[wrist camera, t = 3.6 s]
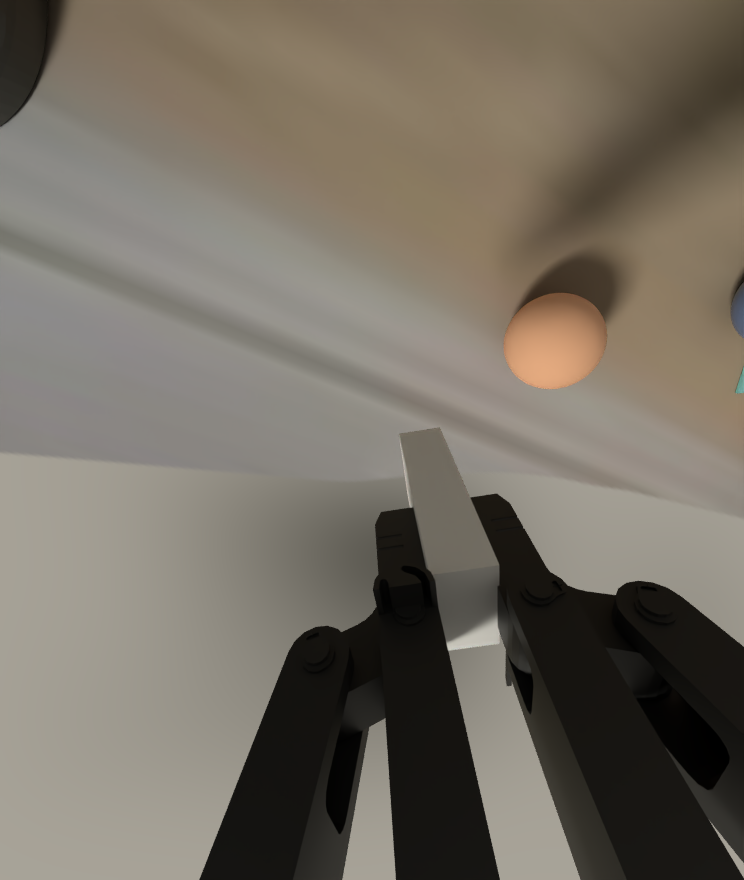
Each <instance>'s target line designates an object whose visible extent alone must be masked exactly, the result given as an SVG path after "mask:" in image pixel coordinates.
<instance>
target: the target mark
mask: <svg viewBox="0 0 744 880" xmlns="http://www.w3.org/2000/svg"><path fill="white" fill-rule="evenodd" d="M735 393H744V368H743V371H742V374H741V377H740V380H739V383H738V386H737V389H736V392H735Z"/></svg>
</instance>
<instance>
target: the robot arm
mask: <svg viewBox="0 0 744 880" xmlns="http://www.w3.org/2000/svg"><path fill="white" fill-rule="evenodd" d="M46 31H47V0H0V126H1V125H2V124H4V123H5V122H6V121H7V120H8V119H10V118H11V117H12V116H13V115H14V114H15V112H16V111H17V110H18V109H19V108H20V107H21V105H22V104H23V102H24V101H25V100H26V98H27V96H28V94H29V93H30V91H31V89H32V87H33V85H34V82H35V80H36V78H37V75H38V72H39V69H40V65H41V61H42V57H43V53H44V47H45V41H46ZM399 438H400V445H401V452H402V459H403V466H404V473H405V480H406V487H407V494H408V499H409V504H410V508H406V509H399V510H392V511H386V512H381V513H380V515H379V517H378V520H377V522H376V524H375V529H376V544H377V559H378V572H379V575H378V576H377V577H376V579H375V582H374V587H373V592H374V596H375V601H376V605H377V607H376V608H375V610H374V611H373V613H372V614H371V615H370V616H369V617H368V618H367V619H366V620H365V621H363V622H361V623H360V624H358V625H356V626H354V627H352V628H350V629H348V630H345V631H343V632H340V631H339V630H338V629H336V628H333V627H329V626H321V627H315V628H313V629H311V630H308V631H306V632H304V633H303V634H302V635H301V636H300V637H299V638H298V639H297V640H296V641H295V642H294V644H293V645H292V647H291V649H290V650H289V652H288V655H287V657H286V660H285V662H284V665H283V667H282V670H281V672H280V675H279V678H278V680H277V683H276V685H275V688H274V690H273V693H272V695H271V698H270V701H269V704H268V706H267V709H266V711H265V713H264V716H263V719H262V721H261V724H260V726H259V729H258V731H257V734H256V736H255V739H254V742H253V744H252V747H251V749H250V752H249V754H248V757H247V759H246V762H245V765H244V767H243V770H242V772H241V775H240V777H239V780H238V782H237V785H236V788H235V790H234V793H233V795H232V798H231V800H230V803H229V805H228V809H227V811H226V813H225V816H224V818H223V821H222V823H221V826H220V828H219V831H218V834H217V836H216V839H215V841H214V844H213V846H212V849H211V851H210V854H209V857H208V859H207V862H206V864H205V867H204V870H203V872H202V875H201V877H200V880H342V878H343V872H344V866H345V861H346V855H347V849H348V843H349V838H350V832H351V826H352V821H353V816H354V810H355V804H356V799H357V792H358V787H359V782H360V776H361V770H362V765H363V759H364V753H365V748H366V742H367V737H368V731H369V727H370V726H371V725H374V724H375V723H377V722H379V721H381V720H383V719H384V718H386V733H387V749H388V764H389V779H390V795H391V810H392V825H393V841H394V856H395V871H396V880H500V878H499V874H498V869H497V865H496V860H495V856H494V851H493V847H492V843H491V838H490V834H489V829H488V825H487V820H486V816H485V811H484V807H483V803H482V798H481V794H480V789H479V785H478V780H477V776H476V772H475V767H474V763H473V759H472V754H471V749H470V745H469V741H468V737H467V732H466V727H465V723H464V719H463V714H462V710H461V705H460V701H459V696H458V692H457V687H456V684H455V679H454V674H453V670H452V665H451V661H450V656H449V652H448V650H456V649H463V648H471V647H478V646H486V645H492V644H499V632H500V635H501V637H502V640H503V643H504V646H505V648H506V683H507V686H511V685H512V683H513V685H514V688H515V691H516V694H517V697H518V700H519V703H520V706H521V709H522V711H523V715H524V717H525V720H526V723H527V726H528V729H529V732H530V735H531V738H532V741H533V743H534V746H535V749H536V752H537V755H538V758H539V760H540V764H541V766H542V769H543V772H544V775H545V778H546V781H547V784H548V787H549V789H550V792H551V795H552V798H553V801H554V804H555V807H556V810H557V813H558V816H559V818H560V821H561V824H562V827H563V830H564V833H565V836H566V838H567V841H568V844H569V847H570V850H571V853H572V856H573V859H574V862H575V865H576V867H577V870H578V873H579V876H580V879H581V880H744V878H743V876H742V875H741V873H740V871H739V870H738V868H737V866H736V865H735V863H734V861H733V859H732V858H731V856H730V855H729V853H728V851H727V850H726V848H725V846H724V844H723V843H722V841H721V840H720V838H719V837H718V834H717V833H716V831H715V829H714V828H713V826H712V825H711V823H712V824H713V825H714V826H715V828H716V829H717V830H718V831H719V833H720V834H721V835H722V836H723V838H724V839H725V840H726V841H727V843H728V844H729V845H730V846H731V848H732V849H733V850H734V851H735V853H736V854H737V855H738V856H739V858H740V859H741V860H742V861H743V862H744V647H743V646H742V645H741V644H740V643H738V642H737V641H736V640H735V639H733V638H732V637H731V636H730V635H728V634H727V633H726V632H725V631H723V630H722V629H721V628H720V627H718V626H717V625H716V624H715V623H713V622H712V621H711V620H710V619H708V618H707V617H706V616H705V615H704V614H702V613H701V612H700V611H699V610H697V609H696V608H695V607H694V606H692V605H691V604H690V603H689V602H687V601H686V600H685V599H684V598H682V597H681V596H680V595H678V594H676V593H675V592H673V591H672V590H670V589H668V588H666V587H663V586H660V585H658V584H655V583H651V582H644V581H635V582H629V583H626V584H624V585H623V586H621V587H620V588H619V589H618V591H617V594H616V595H609V594H601V593H594V592H587V591H583V590H578V589H575V588H572V587H570V586H567V584H566V583H565V582H564V581H563V580H562V579H561V578H559V577H557V576H556V575H554V574H553V573H551V572H550V571H549V570H548V569H547V568H546V566H545V564H544V562H543V561H542V559H541V557H540V555H539V553H538V552H537V550H536V548H535V547H534V545H533V543H532V541H531V539H530V538H529V536H528V534H527V533H526V531H525V529H523V526H522V524H521V522H520V520H519V519H518V518H517V515H516V513H515V511H514V510H513V508H512V506H511V504H510V503H509V502H507V501H506V500H505V499H503V498H502V497H501V496H499V495H498V494H491V495H485V496H478V497H471V498H470V497H469V494H468V492H467V489H466V487H465V485H464V483H463V480H462V478H461V475H460V473H459V471H458V468H457V466H456V464H455V462H454V459H453V457H452V455H451V452H450V450H449V448H448V445H447V443H446V441H445V439H444V436H443V434H442V432H441V429H440V428H434V429H427V430H421V431H415V432H408V433H402V434H399ZM709 820H710V821H709ZM710 822H711V823H710Z"/></svg>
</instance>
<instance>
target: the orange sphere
mask: <svg viewBox="0 0 744 880" xmlns="http://www.w3.org/2000/svg"><path fill="white" fill-rule="evenodd" d="M606 342H607V329H606V325H605V321H604V319H603V317H602V315H601V313H600V312H599V310H598V309H597V308H596V307H595V306H594V305H593V304H592V303H591V302H589V301H588V300H586V299H584V298H582V297H580V296H578V295H575V294H569V293H552V294H547V295H543V296H541V297H538V298H536V299H534V300H532V301H530V302H529V303H527V304H526V305H525V306H523V307H522V308H521V309H520V310H519V311H518V312H517V313H516V315H515V316H514V317H513V319H512V320H511V322H510V324H509V326H508V328H507V331H506V334H505V338H504V354H505V358H506V361H507V363H508V365H509V367H510V369H511V370H512V372H513V373H514V374H515V375H516V376H517V377H518V378H519V379H521V380H522V381H523V382H525V383H527V384H529V385H531V386H534V387H537V388H543V389H557V388H563V387H567V386H570V385H572V384H574V383H576V382H578V381H580V380H582V379H583V378H584V377H586V376H587V375H588V374H589V373H591V372H592V370H593V369H594V368H595V367H596V366H597V364H598V363H599V361H600V360H601V358H602V356H603V353H604V350H605V347H606Z"/></svg>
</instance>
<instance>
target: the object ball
mask: <svg viewBox="0 0 744 880" xmlns="http://www.w3.org/2000/svg"><path fill="white" fill-rule="evenodd" d="M731 320H732V324H733V326H734V328H735V329H736V331H737V332H738V334H739V335H740V336H741V337H743V338H744V282H743V283H742V285H741V286H740V287H739V289H738V290H737V292H736V294H735V296H734V298H733V301H732V305H731Z"/></svg>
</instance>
